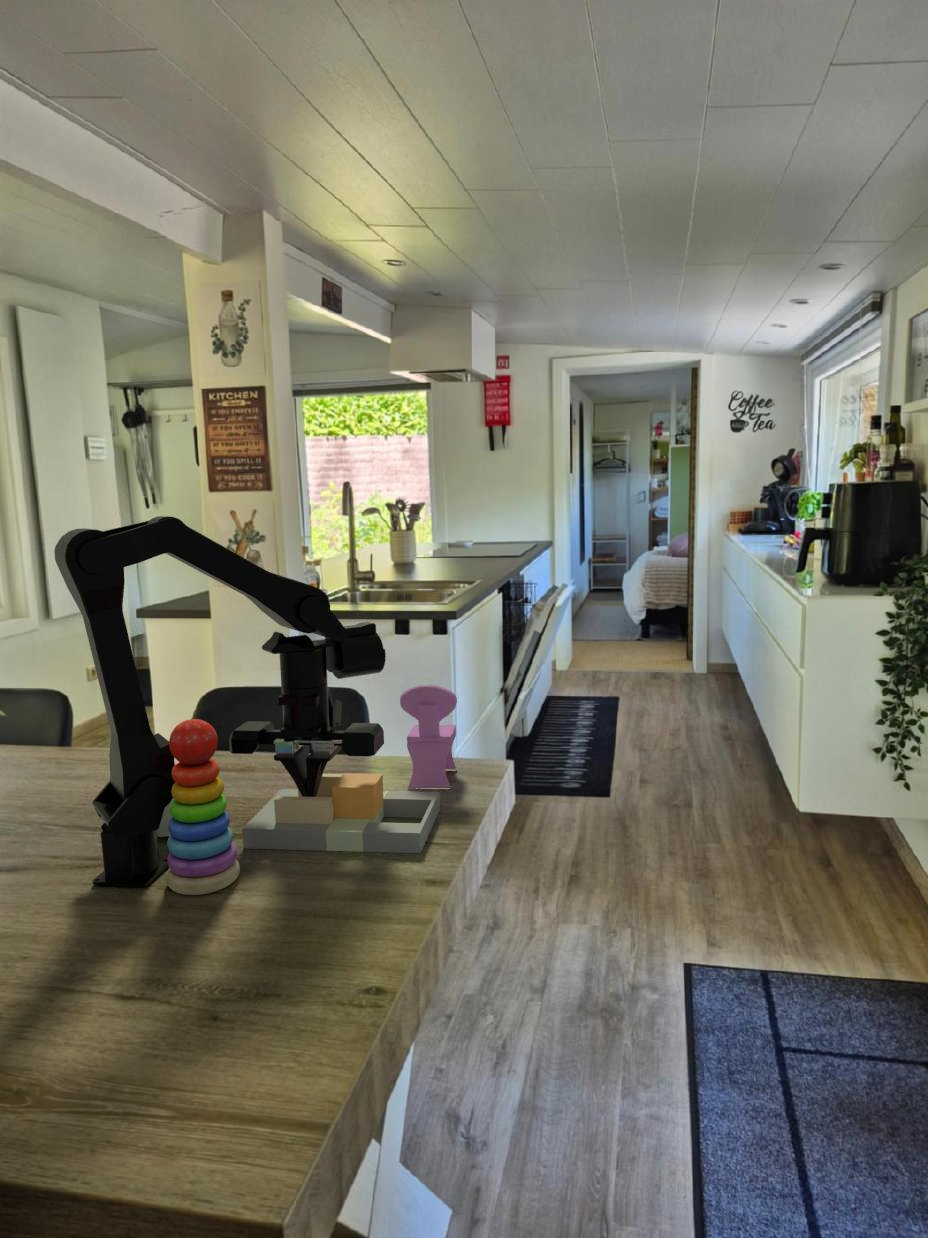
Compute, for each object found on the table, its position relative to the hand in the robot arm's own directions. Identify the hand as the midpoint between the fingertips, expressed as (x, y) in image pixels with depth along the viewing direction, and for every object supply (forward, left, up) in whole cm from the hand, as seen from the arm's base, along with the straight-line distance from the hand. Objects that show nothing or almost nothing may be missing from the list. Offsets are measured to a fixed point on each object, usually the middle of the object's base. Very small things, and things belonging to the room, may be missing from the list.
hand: (310, 803), depth 111 cm
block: (0, -6, -1) cm, 6 cm away
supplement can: (+9, +23, +1) cm, 25 cm away
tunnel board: (0, -5, -3) cm, 6 cm away
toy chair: (+19, -13, -4) cm, 23 cm away
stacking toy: (-16, +7, -4) cm, 18 cm away
